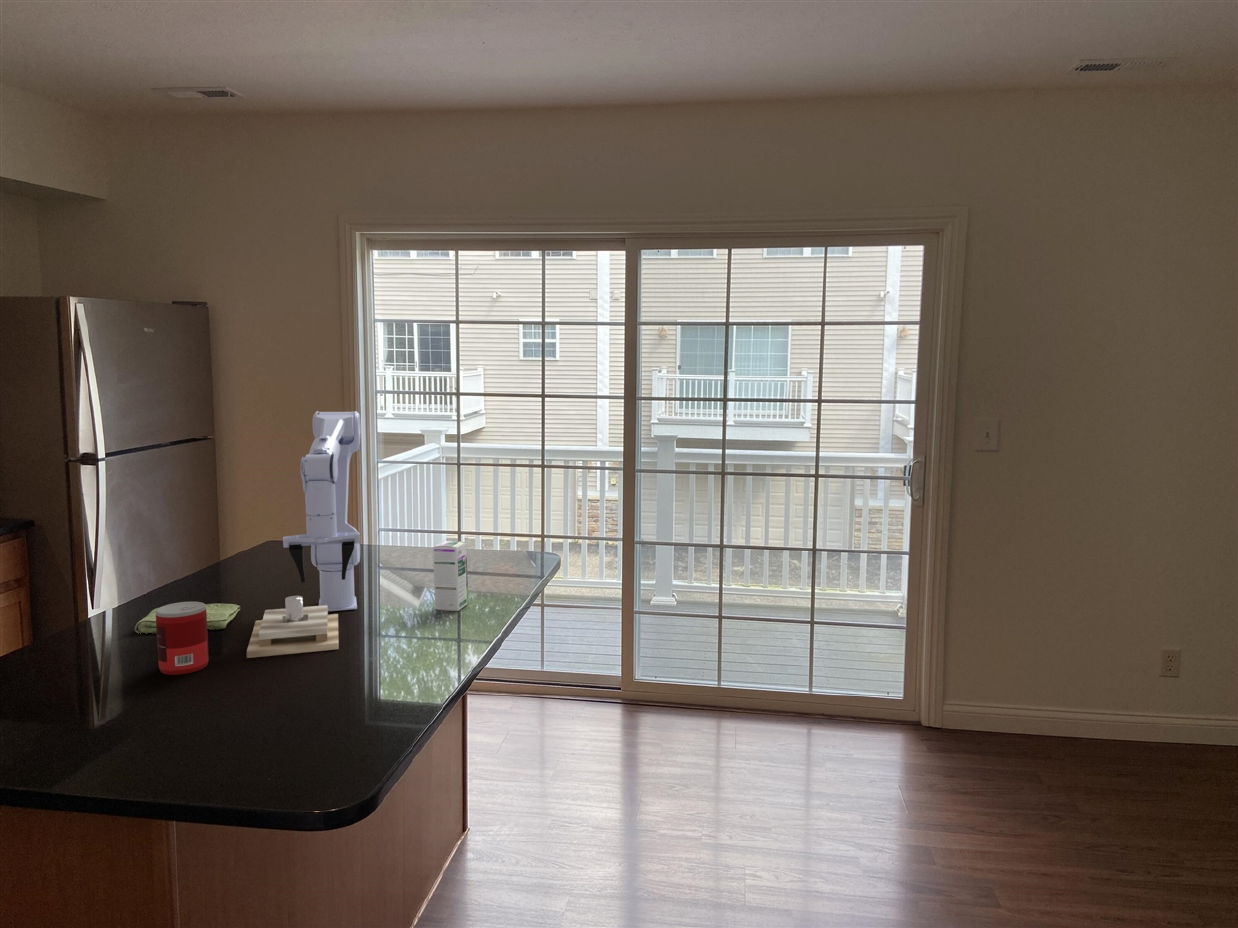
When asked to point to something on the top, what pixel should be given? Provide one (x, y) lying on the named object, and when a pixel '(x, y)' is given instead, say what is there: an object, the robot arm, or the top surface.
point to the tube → (294, 609)
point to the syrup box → (450, 575)
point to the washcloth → (215, 618)
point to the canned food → (182, 637)
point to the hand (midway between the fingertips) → (323, 579)
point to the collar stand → (294, 633)
